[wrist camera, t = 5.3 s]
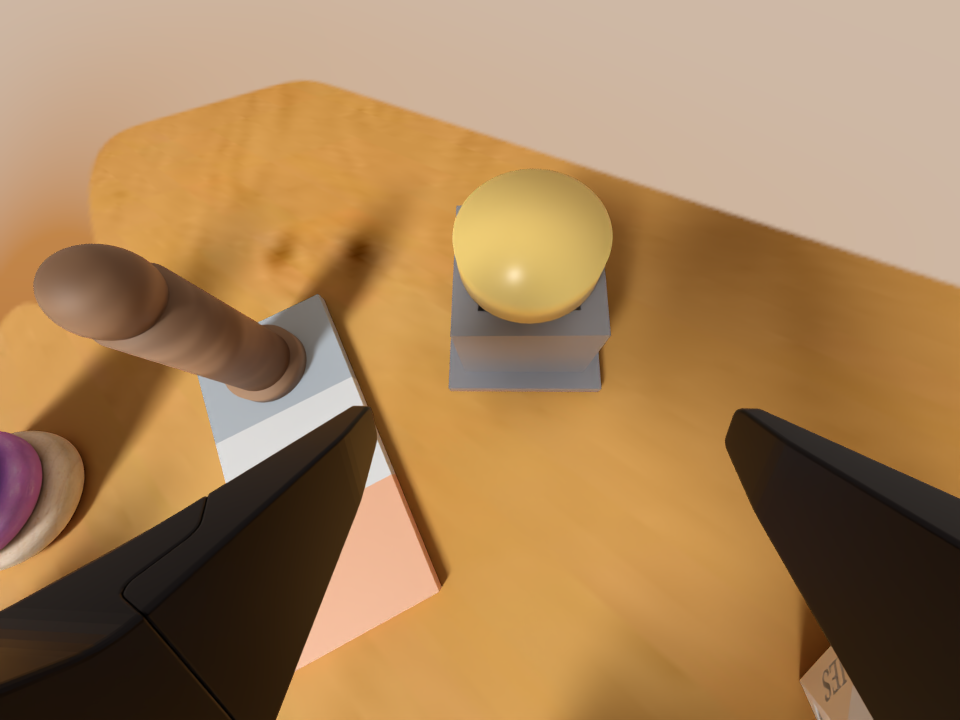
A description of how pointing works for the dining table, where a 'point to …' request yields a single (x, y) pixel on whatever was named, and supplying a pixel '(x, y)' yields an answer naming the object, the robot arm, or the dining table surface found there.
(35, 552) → the stacking toy
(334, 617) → the game board
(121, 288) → the brown round-topped post
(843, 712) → the die
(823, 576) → the robot arm
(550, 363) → the box
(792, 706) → the dining table surface
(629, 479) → the dining table surface
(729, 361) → the dining table surface
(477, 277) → the dome button
